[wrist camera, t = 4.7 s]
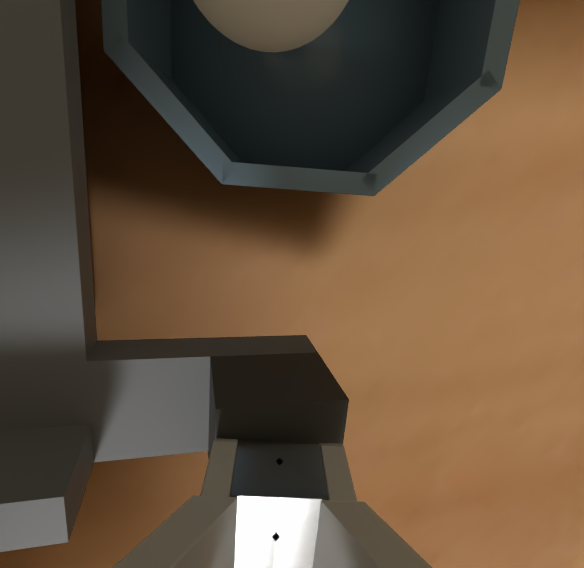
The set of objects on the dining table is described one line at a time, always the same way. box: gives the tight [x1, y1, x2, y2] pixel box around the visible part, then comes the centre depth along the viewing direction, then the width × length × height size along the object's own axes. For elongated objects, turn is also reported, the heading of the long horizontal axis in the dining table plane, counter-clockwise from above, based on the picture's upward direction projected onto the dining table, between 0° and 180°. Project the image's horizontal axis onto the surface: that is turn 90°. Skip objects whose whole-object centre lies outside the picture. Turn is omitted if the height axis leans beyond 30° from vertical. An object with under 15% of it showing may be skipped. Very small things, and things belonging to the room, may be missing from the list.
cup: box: [101, 0, 520, 196], centre depth 12 cm, size 10×10×5 cm
